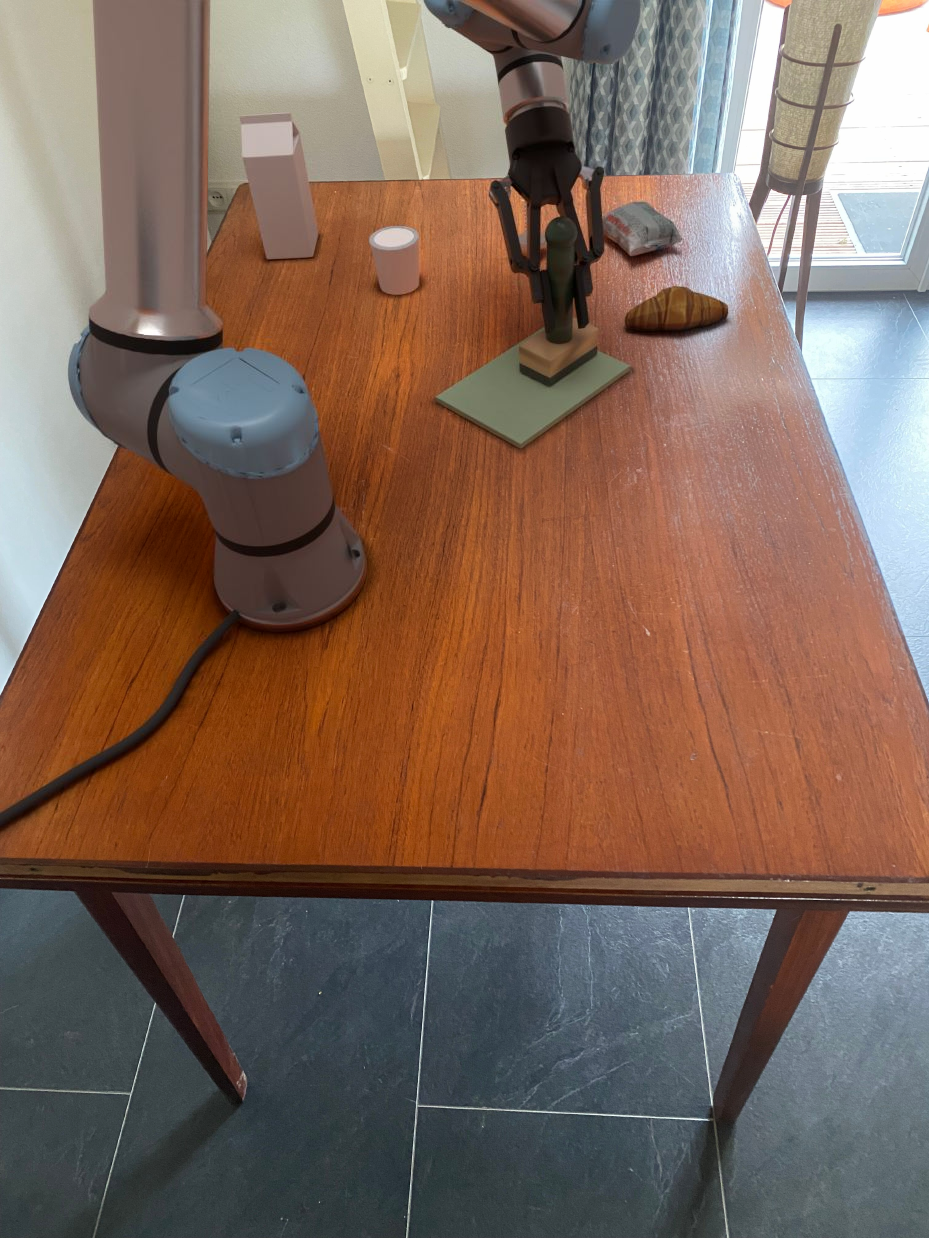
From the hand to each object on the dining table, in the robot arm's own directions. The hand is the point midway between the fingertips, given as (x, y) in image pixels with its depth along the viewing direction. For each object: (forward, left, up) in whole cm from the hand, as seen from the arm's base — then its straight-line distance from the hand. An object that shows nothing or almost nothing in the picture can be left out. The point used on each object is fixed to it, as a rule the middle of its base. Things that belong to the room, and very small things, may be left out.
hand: (567, 327), depth 105 cm
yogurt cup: (+4, +34, -8) cm, 35 cm away
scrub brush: (+2, +3, -7) cm, 8 cm away
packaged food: (+33, +15, -8) cm, 37 cm away
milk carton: (+1, +55, -8) cm, 56 cm away
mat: (-2, +3, -8) cm, 9 cm away
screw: (+22, +25, -8) cm, 34 cm away
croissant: (+20, -2, -8) cm, 21 cm away
